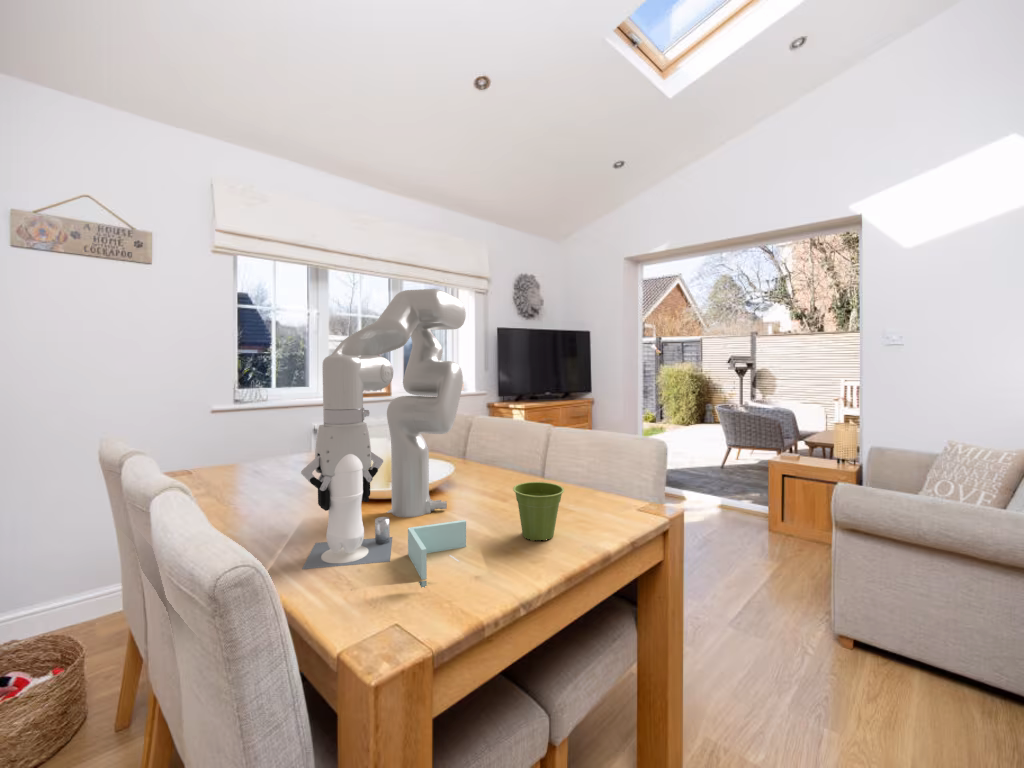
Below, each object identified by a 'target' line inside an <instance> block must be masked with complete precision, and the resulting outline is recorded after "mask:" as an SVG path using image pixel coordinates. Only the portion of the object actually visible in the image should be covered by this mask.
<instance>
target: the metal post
mask: <svg viewBox="0 0 1024 768" xmlns="http://www.w3.org/2000/svg"><path fill="white" fill-rule="evenodd" d="M390 524H391V523H390V517H389V516H379V517H376V518H375V519H374V536H375V537H374V538H375V543H376V544H379V545H383V544H387V543H389V542H390V537H391V535H390Z"/></svg>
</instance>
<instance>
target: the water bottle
mask: <svg viewBox="0 0 1024 768" xmlns="http://www.w3.org/2000/svg"><path fill="white" fill-rule="evenodd" d="M362 469H363V465H362V462H361V461H360V459H359V458H358V457H357V456H355V455H353V454H348V455H346V456H344V457H343V458H342V459H341V460H340V461H339V463H338V464H337V466H336V468H335V472H334V473H335V475H334V476H333V477H332V478H331V480H330V482H329V484H328V486H327V490H329V494H330V509H329V510H327V511H328V518H327V519H328V521H327V529H326V534H325V536H326V542H327V543H328V546H329V548H330V549H331V551H332V552H334V553H339V552H340V550H341V548H342V547H343V548H344V550H345V552H346V553H351V552H353V551H355V550H356V548H359V547H360V546H361V544H362V542H363V539H365V538H364V537H365V527H364V523H363V515H362V495H363V471H362Z"/></svg>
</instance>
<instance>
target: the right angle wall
mask: <svg viewBox="0 0 1024 768" xmlns="http://www.w3.org/2000/svg"><path fill="white" fill-rule="evenodd" d="M462 548H467V521H466V520H465V519H463V520H454V521H447V522H440V523H433V524H426V525H419V526H418V525H417V526H411V527H408V528H407V554H408V557H409V559H410V561H411V562H412V565H413V566H414V567H415V570H416V572H417V573H418V575H419V577H420V579H421V580H418V581H419V582H418V584H419V583H420V584H419V585H420V588H422V587H424V588H426V587H425V586H428V585H427V584H428V583H427V581H428V580H426V579H428V578H427V575H428V574H427V568H428V567H427V566H428V565H427V564H428V563H427V562H428V561H427V560H428V559H427V554H431V553H437V552H444V551H450V550H455V549H462ZM448 556H449V557H450V558H452V559H454V560H455V561H456V562H458V563H459V562H461V561H460V560H458V559H457V558H456V557H455V556H453V555H451V554H449V555H448Z"/></svg>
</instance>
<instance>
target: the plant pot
mask: <svg viewBox="0 0 1024 768" xmlns="http://www.w3.org/2000/svg"><path fill="white" fill-rule="evenodd" d="M512 491H513V492H514V494H515V497H516V501H517V506H518V511H519V519H520V526H521V527H520V528H521V531H522V532H521V534H522V536H523V538H525V539H526V538H527V540H529V539H530V541H532V540H536V541H541V540H546V539H549V540H551V539H553V537H554V534H555V529H556V522H557V517H558V511H559V507H560V506H559V505H560V503H561V499H562V495H563V493H565V489H564V487H563V486H561V485H560V484H557V483H552V482H546V481H545V482H543V481H529V482H523V483H518V484H516V485H514V487H513V488H512ZM550 538H551V539H550ZM546 541H547V540H546Z"/></svg>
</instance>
